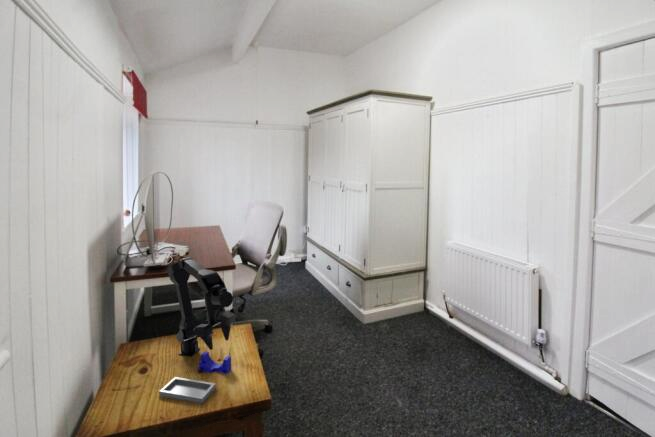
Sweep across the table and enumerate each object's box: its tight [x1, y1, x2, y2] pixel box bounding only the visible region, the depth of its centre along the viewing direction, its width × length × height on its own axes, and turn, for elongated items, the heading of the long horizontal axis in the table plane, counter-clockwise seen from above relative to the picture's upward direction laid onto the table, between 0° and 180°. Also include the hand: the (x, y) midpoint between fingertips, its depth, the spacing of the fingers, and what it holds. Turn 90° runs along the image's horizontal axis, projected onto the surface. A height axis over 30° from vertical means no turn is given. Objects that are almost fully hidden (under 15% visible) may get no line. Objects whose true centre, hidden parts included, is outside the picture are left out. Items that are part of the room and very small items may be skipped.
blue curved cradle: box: [198, 350, 232, 375], centre depth 147 cm, size 12×4×6 cm, turn 71°
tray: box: [158, 376, 217, 405], centre depth 133 cm, size 17×9×2 cm, turn 77°
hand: (219, 344), depth 142 cm, fingers open, 9 cm apart
